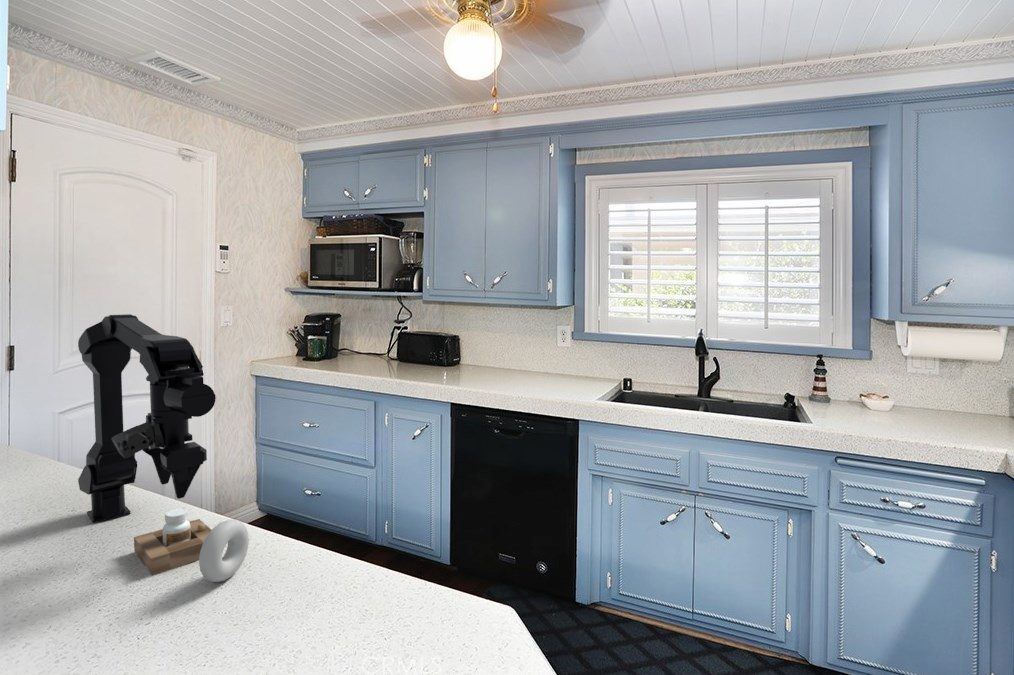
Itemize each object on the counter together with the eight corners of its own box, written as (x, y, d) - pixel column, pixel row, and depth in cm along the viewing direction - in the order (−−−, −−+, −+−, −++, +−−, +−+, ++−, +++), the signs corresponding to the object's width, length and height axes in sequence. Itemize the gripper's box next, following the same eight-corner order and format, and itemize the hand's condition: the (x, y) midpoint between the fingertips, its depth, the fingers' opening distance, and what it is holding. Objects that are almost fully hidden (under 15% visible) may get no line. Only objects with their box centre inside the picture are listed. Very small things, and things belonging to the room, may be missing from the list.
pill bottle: (168, 560, 96) (167, 519, 96) (159, 552, 99) (158, 512, 98) (194, 552, 100) (193, 512, 99) (185, 544, 103) (184, 505, 102)
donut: (213, 595, 86) (211, 536, 85) (194, 592, 87) (192, 534, 86) (254, 564, 96) (252, 511, 95) (237, 562, 97) (235, 508, 96)
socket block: (134, 552, 99) (133, 531, 99) (199, 533, 107) (199, 514, 107) (151, 575, 92) (150, 553, 91) (220, 552, 100) (219, 532, 99)
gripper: (103, 405, 97) (106, 488, 99) (130, 425, 85) (134, 520, 86) (172, 396, 105) (174, 473, 107) (206, 414, 93) (208, 501, 95)
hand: (172, 490), depth 98 cm, fingers open, 9 cm apart
